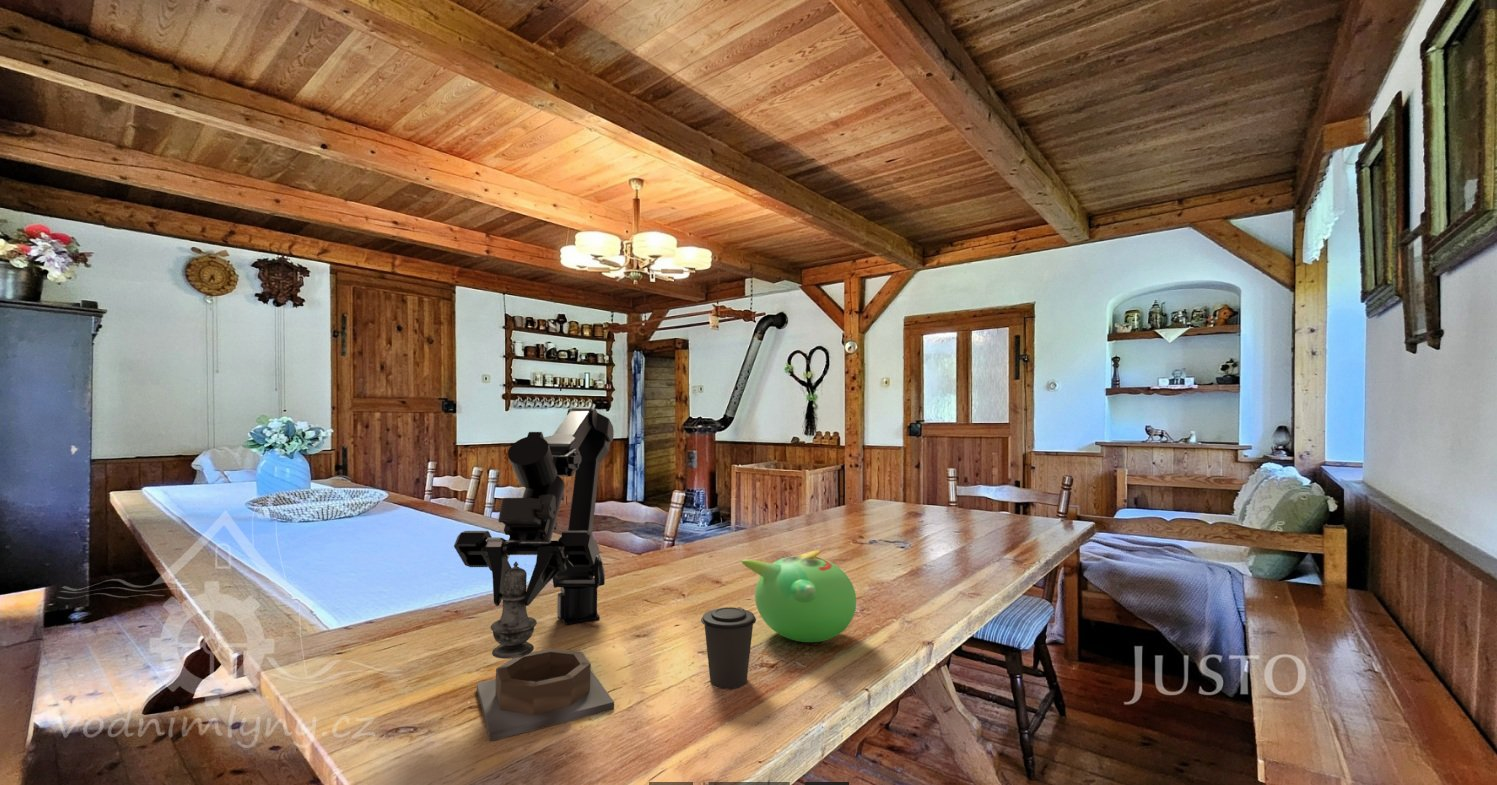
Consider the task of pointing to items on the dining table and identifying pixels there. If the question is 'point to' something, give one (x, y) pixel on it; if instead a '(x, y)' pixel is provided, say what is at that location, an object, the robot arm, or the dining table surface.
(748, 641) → the coffee cup
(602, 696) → the socket
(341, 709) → the dining table surface
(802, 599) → the round green monster
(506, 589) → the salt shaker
